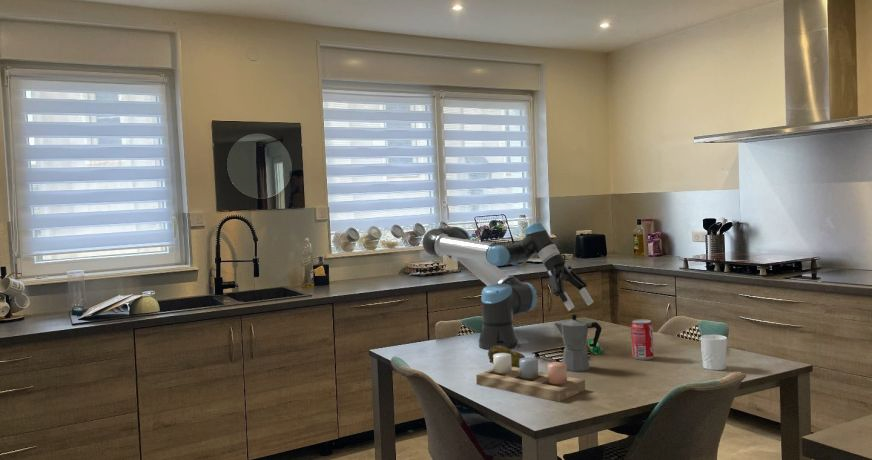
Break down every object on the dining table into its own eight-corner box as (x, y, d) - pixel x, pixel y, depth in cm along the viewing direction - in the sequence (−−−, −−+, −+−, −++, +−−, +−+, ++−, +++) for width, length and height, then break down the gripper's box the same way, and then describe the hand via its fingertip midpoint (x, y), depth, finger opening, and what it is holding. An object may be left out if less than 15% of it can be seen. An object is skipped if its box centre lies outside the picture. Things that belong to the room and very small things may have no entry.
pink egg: (543, 381, 194) (543, 365, 194) (554, 377, 198) (554, 361, 198) (560, 385, 191) (559, 367, 190) (570, 380, 195) (570, 363, 194)
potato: (528, 371, 219) (527, 347, 219) (489, 372, 219) (488, 348, 219) (524, 364, 227) (524, 341, 227) (487, 366, 227) (486, 343, 227)
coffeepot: (552, 370, 219) (551, 316, 218) (558, 363, 228) (557, 311, 227) (600, 373, 213) (599, 317, 212) (604, 366, 222) (603, 312, 221)
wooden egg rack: (476, 384, 207) (476, 374, 206) (503, 374, 217) (503, 365, 217) (559, 401, 186) (559, 391, 186) (585, 389, 196) (584, 379, 196)
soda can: (654, 360, 226) (654, 322, 226) (632, 360, 228) (632, 322, 227) (652, 355, 233) (651, 318, 233) (631, 355, 235) (630, 318, 234)
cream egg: (490, 371, 208) (489, 355, 208) (501, 367, 212) (500, 352, 212) (504, 374, 204) (503, 358, 204) (515, 370, 208) (514, 354, 208)
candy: (584, 345, 250) (590, 336, 249) (592, 350, 250) (598, 340, 249) (590, 353, 238) (596, 343, 237) (598, 358, 238) (604, 348, 237)
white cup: (715, 372, 210) (715, 340, 209) (695, 366, 217) (695, 336, 216) (732, 368, 213) (732, 337, 213) (712, 363, 220) (711, 333, 220)
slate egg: (516, 376, 201) (515, 360, 201) (526, 372, 205) (526, 356, 205) (531, 379, 197) (530, 362, 197) (542, 375, 201) (541, 358, 201)
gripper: (540, 255, 242) (570, 305, 234) (576, 250, 260) (605, 296, 253) (526, 267, 246) (556, 316, 239) (562, 261, 265) (591, 306, 257)
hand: (581, 306), depth 246 cm, fingers open, 13 cm apart
